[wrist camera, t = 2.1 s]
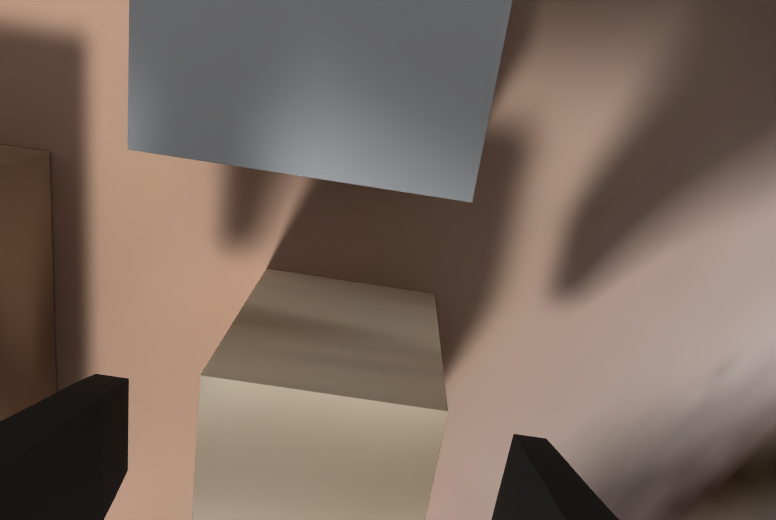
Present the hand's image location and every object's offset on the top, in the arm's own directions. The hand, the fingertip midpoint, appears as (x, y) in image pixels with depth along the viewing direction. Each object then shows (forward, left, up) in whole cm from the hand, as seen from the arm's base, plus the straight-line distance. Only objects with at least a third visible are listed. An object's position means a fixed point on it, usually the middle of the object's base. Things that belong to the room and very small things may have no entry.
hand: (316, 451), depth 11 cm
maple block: (0, 0, -4) cm, 4 cm away
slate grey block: (+8, +1, -4) cm, 9 cm away
